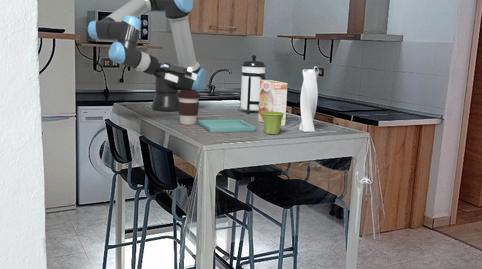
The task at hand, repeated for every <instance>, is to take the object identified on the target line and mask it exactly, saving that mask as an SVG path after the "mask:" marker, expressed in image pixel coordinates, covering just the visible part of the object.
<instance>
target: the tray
mask: <svg viewBox="0 0 482 269" xmlns="http://www.w3.org/2000/svg"><path fill="white" fill-rule="evenodd" d="M197 125H198V126H200V127H201V128H203V129H204V130H206V131H207V132H208V133H244V132H249V133H250V132H251V131H252V133H253V131H255V132H257V126H254V125H252V124H251V123H250V122H249V123H248V122H246V121H245V120H242V119H197Z"/></svg>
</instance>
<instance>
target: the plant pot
mask: <svg viewBox="0 0 482 269" xmlns="http://www.w3.org/2000/svg"><path fill="white" fill-rule="evenodd" d="M261 114H262V116H263V122H264V123H263V122H262V123H263V129H264V130H263V131H264V134H266V135H269V134H270V135H271V134H275V135H279V134H280V130H281V127H282V126H281V121H282V118H283V115H284V113H282V112H276V111H264V112H261Z"/></svg>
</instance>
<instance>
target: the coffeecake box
mask: <svg viewBox="0 0 482 269" xmlns="http://www.w3.org/2000/svg"><path fill="white" fill-rule="evenodd" d="M287 95H288V82H282V81H278V80H273V79H266V80H260V95H259V111H258V119H257V121H258V122H260V123H262V124H264V122H263V116H262V114H261V112H264V111H276V112H282V113H284V115H283V118H282V121H281V126H280V127H285V126H286V118H287V116H286V115H287V100H288V99H287V98H288V96H287Z"/></svg>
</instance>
